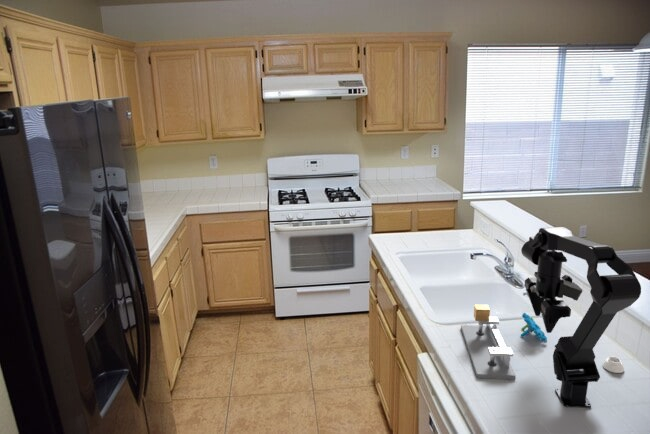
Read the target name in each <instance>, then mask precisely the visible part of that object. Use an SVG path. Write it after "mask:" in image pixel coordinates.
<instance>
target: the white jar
mask: <svg viewBox="0 0 650 434" xmlns="http://www.w3.org/2000/svg"><path fill="white" fill-rule="evenodd" d="M602 367H603V369H605V370H606V371H609V372H610V373H614V374H615V373H616V374H617V373H618V374H620V373H623V372H625V367H624V365H623V363H622V361H621V359H620V358H619V357H617V356H612V355H610V356H608V357H607V358H606V359H605V360H604V361H603V362H602Z"/></svg>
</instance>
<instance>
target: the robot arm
mask: <svg viewBox="0 0 650 434" xmlns="http://www.w3.org/2000/svg"><path fill="white" fill-rule="evenodd" d="M563 253H565V254H567V255H571V256H574V257H575V258H578V259H582V260H584V261H585V262H586V265H587V272H586V280H587V282H588V284H589V286H590V291H589V293H590V296H591V298H592V303H591V304H590V306H589V308H588V310H587V311H586V313H585V315H584V316H583V317H582V319H581V321H580V323H579V324H578V326H577V328H576V330H575V331H574V333H573V334H572V335H571V336H570V335H569V336H567V335H566V336H560V337H559V339H558V340H557V343H556V344H555V345H554V348H555V349H554V351H553V354H552V360H553V361H552V363H553V371H554V375H555V376H556V377H555V378H556V380H557V381H559V382H561V385H560V387H555V388H554V391H555V393H556V395H557V396H558V399H559V400H560V402H561V404H562V405H563V407H571V408H572V407H575V408H580V407H581V408H592V404H591V402H590V400H589V399H588V398H587V394H588V387H589V383H591V382H592V383H593V382H595V383H597V382H598V381H599V380H600V379H601V375H600V373H599V370H598V367H597V364H596V362H595V360H596V354H595V352H594V348H595V346H596V345H597V343H599V340H600V339H601V337H602V336H603V334H604V333H605V331H607V328H608V327H609V326H610V324H611V322H612V321H613V319H614V317H615V316H616V315H617V313H619V312H620V311H623V310H625V309H627V308H629V307H631V306H632V305H633V304H634V303H635V302H637V300H639V298H640V297H641V294H642V286H641V285H642V284H641V283H640V281H639V279H638V277H637V275H636V273H635V272H634V270H633V269H632V266H630V265H629V264H628V263H626V262H625V261H624V260H623V259H622V258H620V257H619V256H618V255H617V253H616V250H615V249H614V248H613V247H612V246H610V245H608V244H601V243H598V242H594V241H592V240H588V239H585V238H581V237H579V236H575V235H574V234H573V232H572V230H569V229H568V228H566V227H565V226H557V227H555V226H554V227H540V228H539V229H538V232H537V233H536V234H535V235H534V236H530V237H529V238H528V240H527V241H526V242H525V243H523V245H522V247H521V255H522V256H523V257H524V258H525V259H527V260H528V261H529V262H531V263H532V264H534V265H535V266H537V271H534V274H533V276H534V277H527V278H526V279H525V280H524V285H523V286H524V288H525V291H526V294H527V296H528V298H529V299H528V300H529V301H530V303H531V307H532V309H533V312H534V314H535V317H539V316H541V317H542V320H543V325H544V327H545V331H546V333H548V334H552V332H553V331H554V329H555V327H556V325H557V323H558V321H559V320H560V319H562V318H569V317H571V316H572V315H571V313H572V309H571V307H570V306H569V305H568V304H567V303H566V302H565V301H564V300H563V299H562V300H561V298H564V297H567V298H570V299H572V300H574V301H578V300H579V298H580V297H581V295H582V293H583V291H584V290H583V289H582V287H580V286H579V285H578V284H577V283H576V282H574V281H573V278H572V277H571V276H570V275H567V274H564V275H562V274H561V273H562V268H563V267H562V266H563V263H567V262H568V259H567V256H565V255H564V254H563ZM599 264H606V265H607V267H609V268H610V269H611V270H613V271H614V272H615V273H616V274H609V275H607V274H606V275H604V274H603V275H600V274H599V271H598V265H599ZM561 275H562V276H561ZM557 298H559V299H558V300H557Z"/></svg>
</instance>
